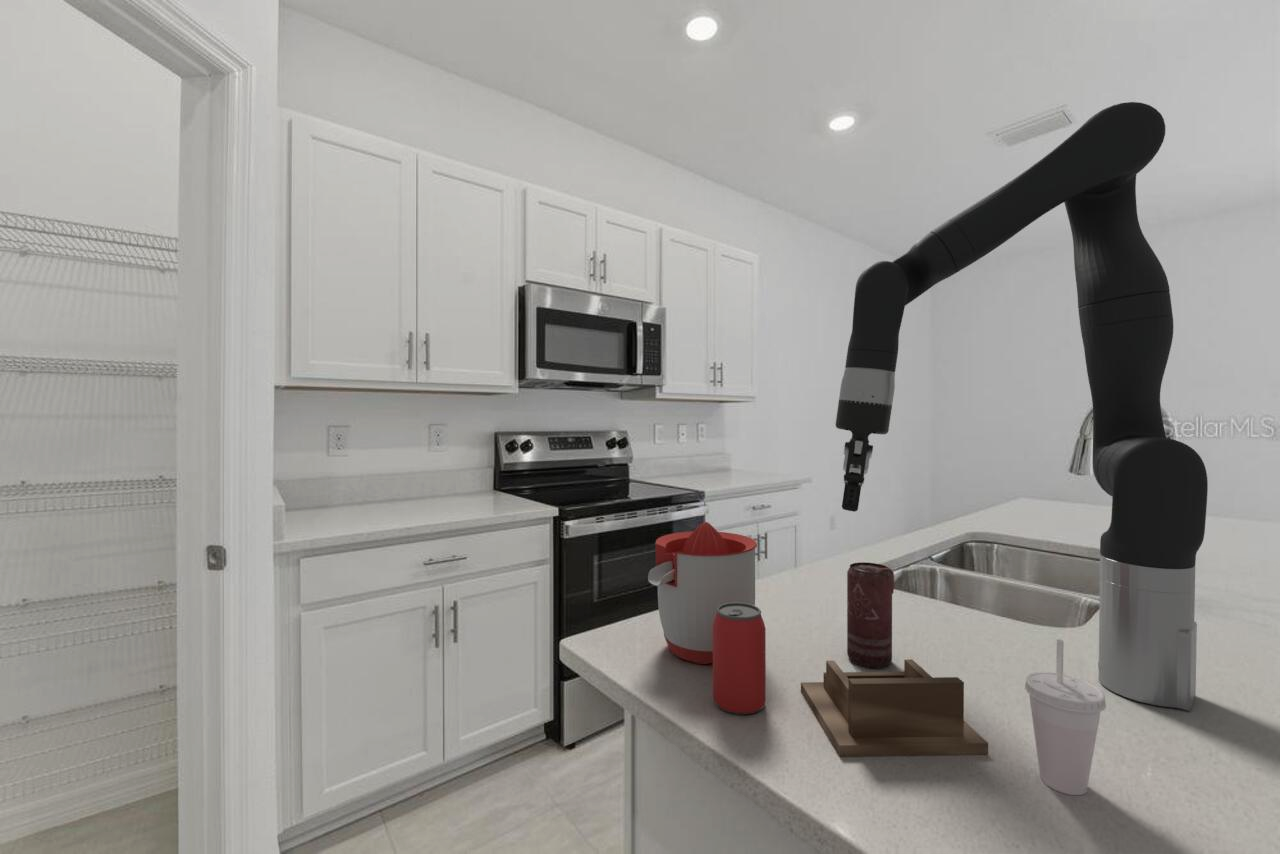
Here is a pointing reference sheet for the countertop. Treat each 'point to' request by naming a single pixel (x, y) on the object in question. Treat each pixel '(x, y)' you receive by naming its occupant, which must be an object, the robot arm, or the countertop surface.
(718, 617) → the beer can
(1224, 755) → the countertop surface
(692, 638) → the citrus juicer
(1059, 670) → the smoothie
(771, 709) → the countertop surface
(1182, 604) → the robot arm
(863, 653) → the can
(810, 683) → the dock
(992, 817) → the countertop surface
